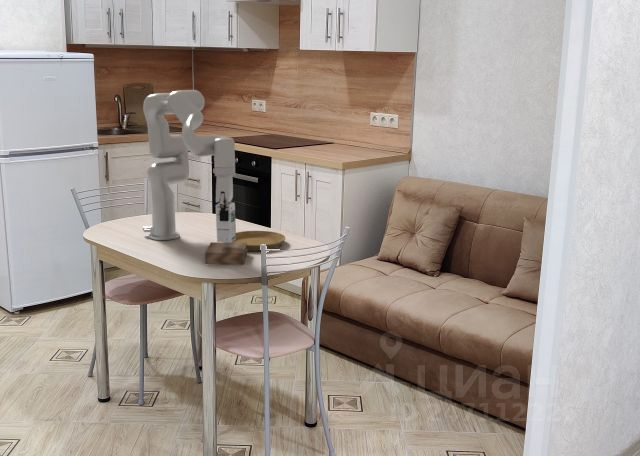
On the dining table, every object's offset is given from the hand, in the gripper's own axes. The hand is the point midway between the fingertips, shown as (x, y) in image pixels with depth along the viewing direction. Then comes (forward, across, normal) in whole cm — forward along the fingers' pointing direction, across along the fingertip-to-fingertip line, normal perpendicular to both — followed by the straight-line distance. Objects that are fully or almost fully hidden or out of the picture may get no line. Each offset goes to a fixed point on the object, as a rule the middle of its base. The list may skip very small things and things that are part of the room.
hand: (225, 218), depth 269 cm
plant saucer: (+16, -22, +8) cm, 29 cm away
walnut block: (+16, 0, 0) cm, 16 cm away
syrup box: (+9, 0, 0) cm, 9 cm away
